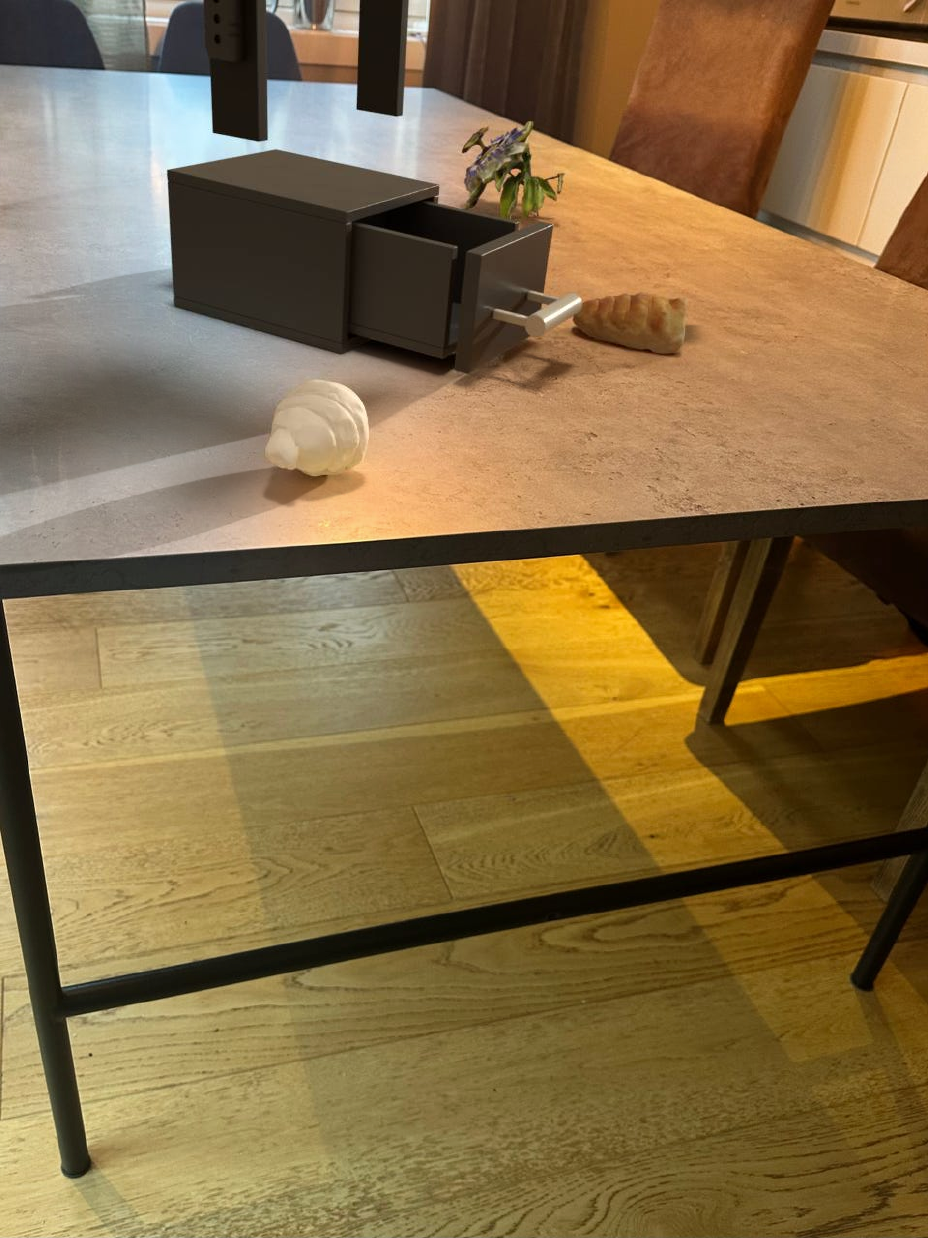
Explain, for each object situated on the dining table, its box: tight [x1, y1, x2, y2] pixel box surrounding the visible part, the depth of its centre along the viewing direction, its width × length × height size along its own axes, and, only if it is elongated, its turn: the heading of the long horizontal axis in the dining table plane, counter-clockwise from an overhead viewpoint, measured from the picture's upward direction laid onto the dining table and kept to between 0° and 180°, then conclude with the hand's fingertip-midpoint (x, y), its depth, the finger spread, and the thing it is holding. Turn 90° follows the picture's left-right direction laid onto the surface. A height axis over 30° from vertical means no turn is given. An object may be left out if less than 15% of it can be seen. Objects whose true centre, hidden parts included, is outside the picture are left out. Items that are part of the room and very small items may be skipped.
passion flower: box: [461, 120, 566, 220], centre depth 119 cm, size 11×11×12 cm
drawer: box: [348, 200, 583, 375], centre depth 78 cm, size 19×12×8 cm, turn 63°
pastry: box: [572, 292, 688, 355], centre depth 86 cm, size 9×7×4 cm
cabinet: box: [166, 148, 441, 354], centre depth 82 cm, size 16×14×10 cm
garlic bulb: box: [264, 379, 370, 477], centre depth 58 cm, size 6×6×5 cm
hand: (316, 124), depth 56 cm, fingers open, 13 cm apart
